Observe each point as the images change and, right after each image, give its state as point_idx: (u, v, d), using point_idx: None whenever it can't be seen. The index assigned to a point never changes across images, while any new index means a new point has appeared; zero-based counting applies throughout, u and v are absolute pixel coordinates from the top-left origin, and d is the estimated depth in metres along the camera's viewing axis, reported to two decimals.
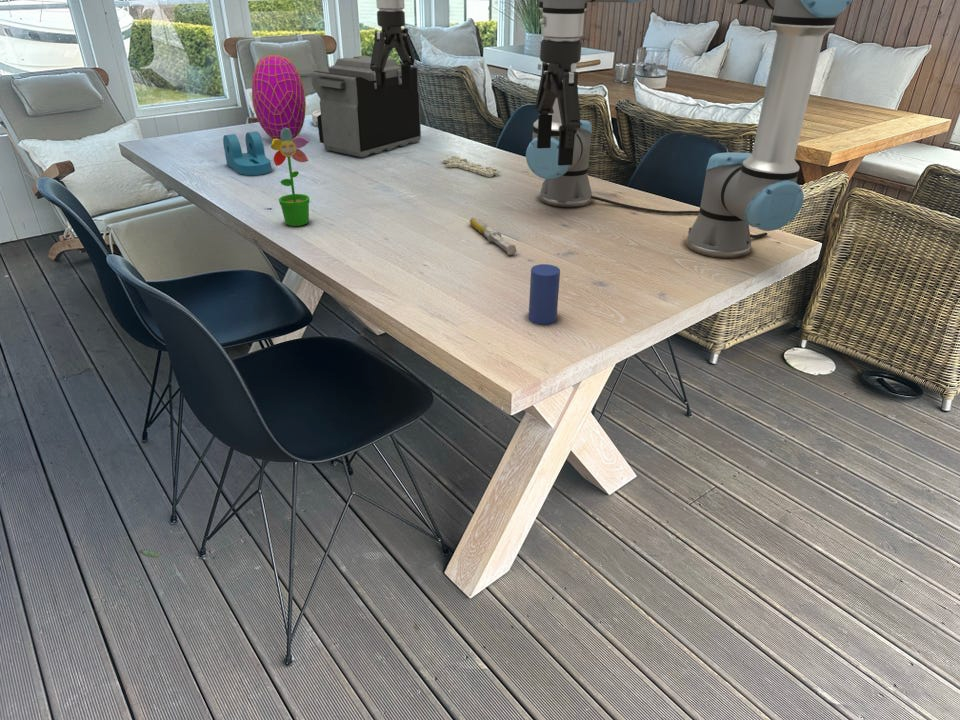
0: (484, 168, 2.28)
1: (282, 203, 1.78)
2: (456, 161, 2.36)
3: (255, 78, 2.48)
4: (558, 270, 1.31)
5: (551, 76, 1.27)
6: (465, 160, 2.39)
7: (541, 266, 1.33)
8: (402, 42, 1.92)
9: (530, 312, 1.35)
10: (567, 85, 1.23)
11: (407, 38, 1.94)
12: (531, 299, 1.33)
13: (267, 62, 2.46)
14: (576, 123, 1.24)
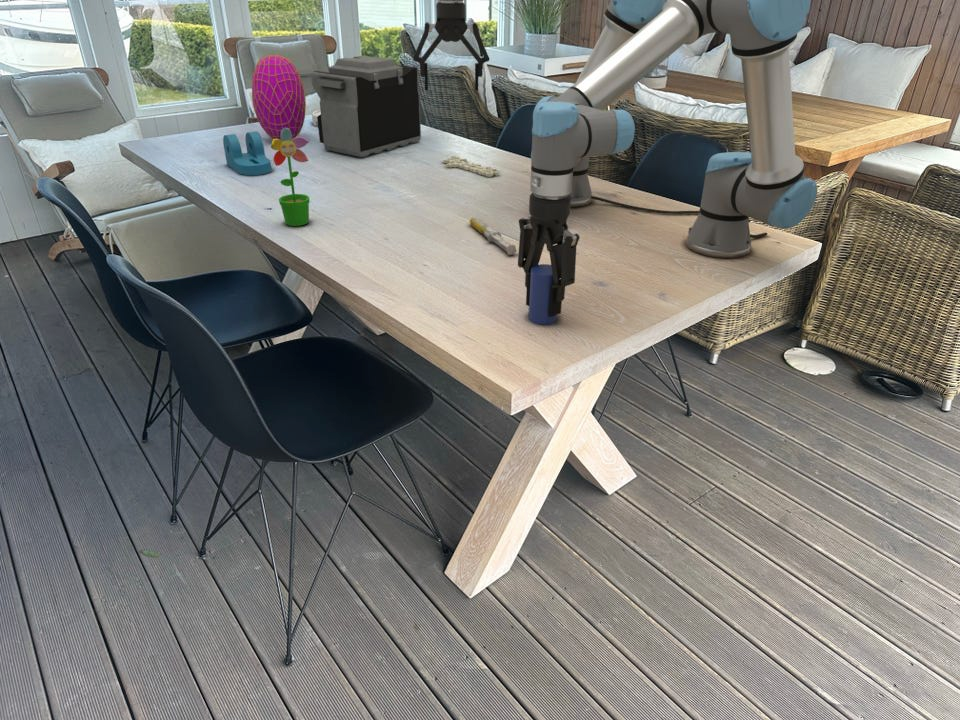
0: (484, 168, 2.28)
1: (282, 203, 1.78)
2: (456, 161, 2.36)
3: (255, 78, 2.48)
4: None
5: (546, 231, 1.25)
6: (465, 160, 2.39)
7: (541, 266, 1.33)
8: None
9: (530, 312, 1.35)
10: (569, 248, 1.24)
11: None
12: (531, 299, 1.33)
13: (267, 62, 2.46)
14: (571, 280, 1.28)
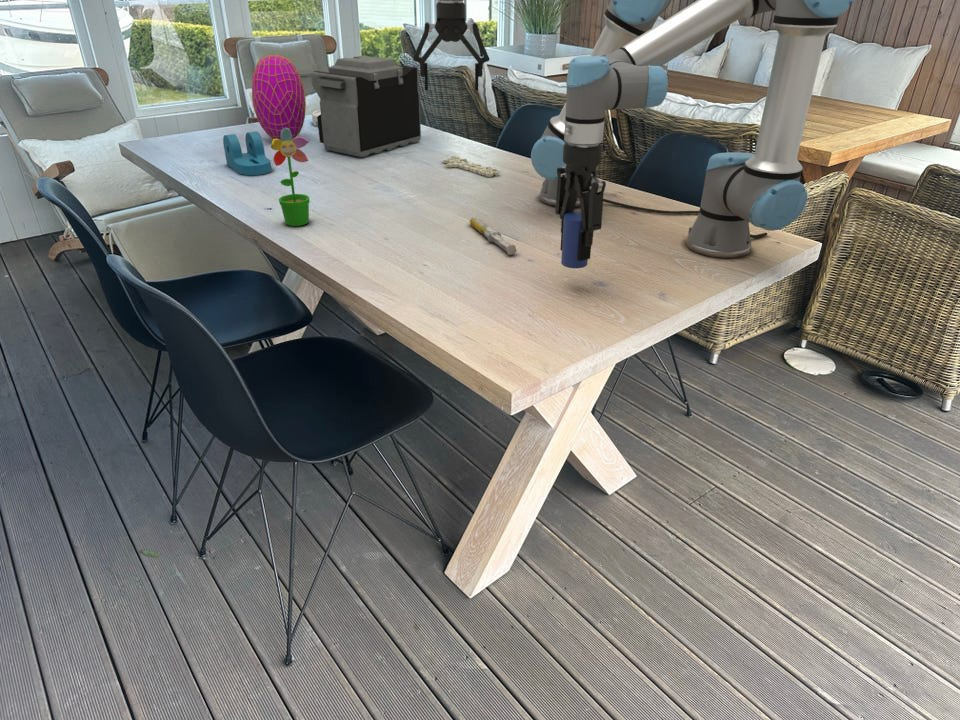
0: (484, 168, 2.28)
1: (282, 203, 1.78)
2: (456, 161, 2.36)
3: (255, 78, 2.48)
4: None
5: (576, 178, 1.35)
6: (465, 160, 2.39)
7: (575, 213, 1.43)
8: None
9: (562, 256, 1.46)
10: (595, 194, 1.33)
11: None
12: (563, 243, 1.44)
13: (267, 62, 2.46)
14: (598, 225, 1.37)
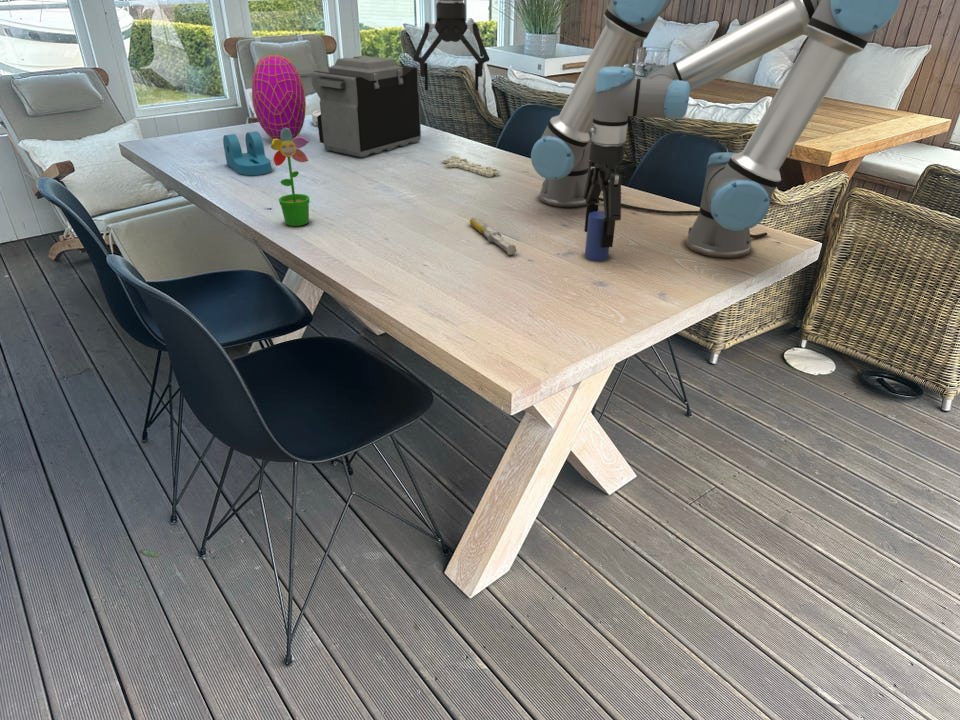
0: (484, 168, 2.28)
1: (282, 203, 1.78)
2: (456, 161, 2.36)
3: (255, 78, 2.48)
4: None
5: (599, 173, 1.53)
6: (465, 160, 2.39)
7: (600, 212, 1.61)
8: None
9: (585, 249, 1.64)
10: (612, 186, 1.50)
11: None
12: (586, 238, 1.63)
13: (267, 62, 2.46)
14: (617, 216, 1.52)
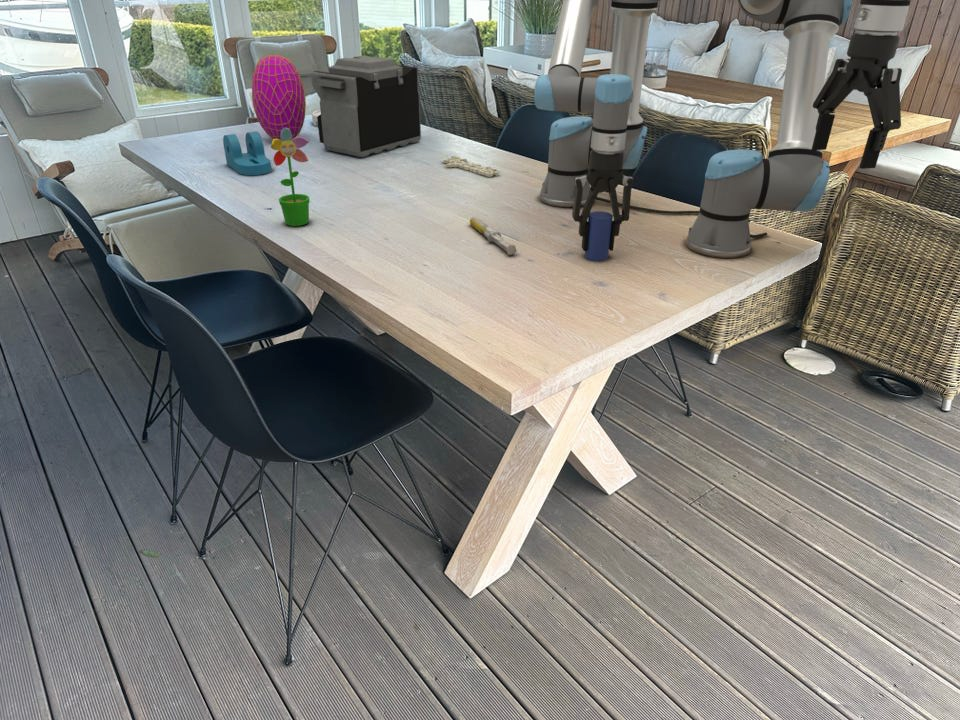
0: (484, 168, 2.28)
1: (282, 203, 1.78)
2: (456, 161, 2.36)
3: (255, 78, 2.48)
4: (610, 216, 1.59)
5: (861, 73, 1.19)
6: (465, 160, 2.39)
7: (600, 212, 1.61)
8: None
9: None
10: (889, 82, 1.15)
11: None
12: None
13: (267, 62, 2.46)
14: (897, 123, 1.16)
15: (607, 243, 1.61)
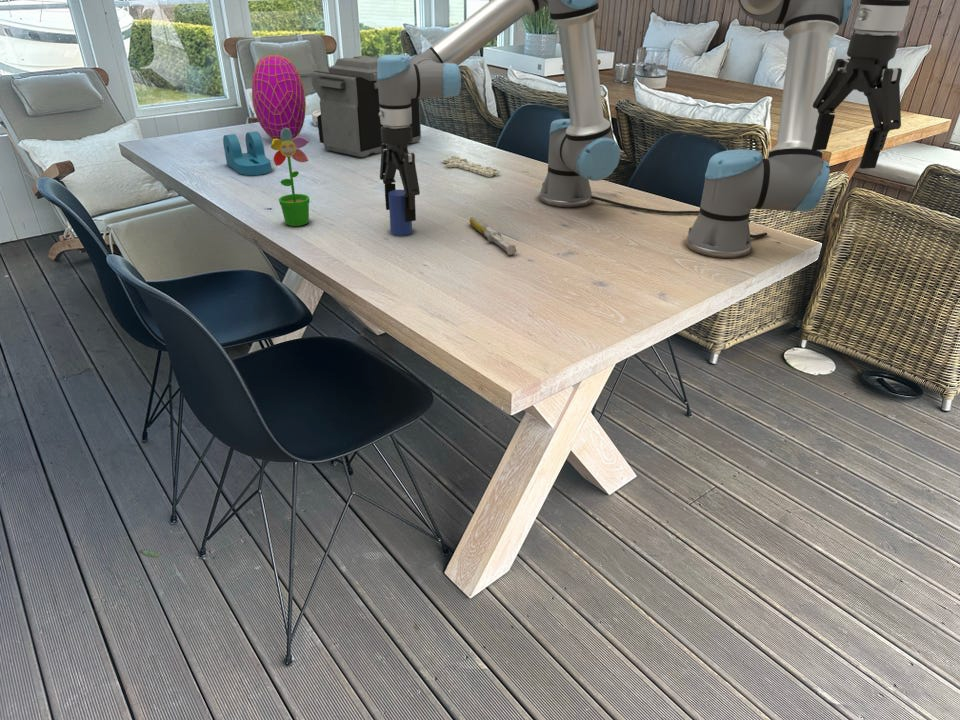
0: (484, 168, 2.28)
1: (282, 203, 1.78)
2: (456, 161, 2.36)
3: (255, 78, 2.48)
4: (397, 195, 1.71)
5: (861, 73, 1.19)
6: (465, 160, 2.39)
7: None
8: None
9: None
10: (889, 82, 1.15)
11: None
12: None
13: (267, 62, 2.46)
14: (897, 123, 1.16)
15: (396, 220, 1.74)
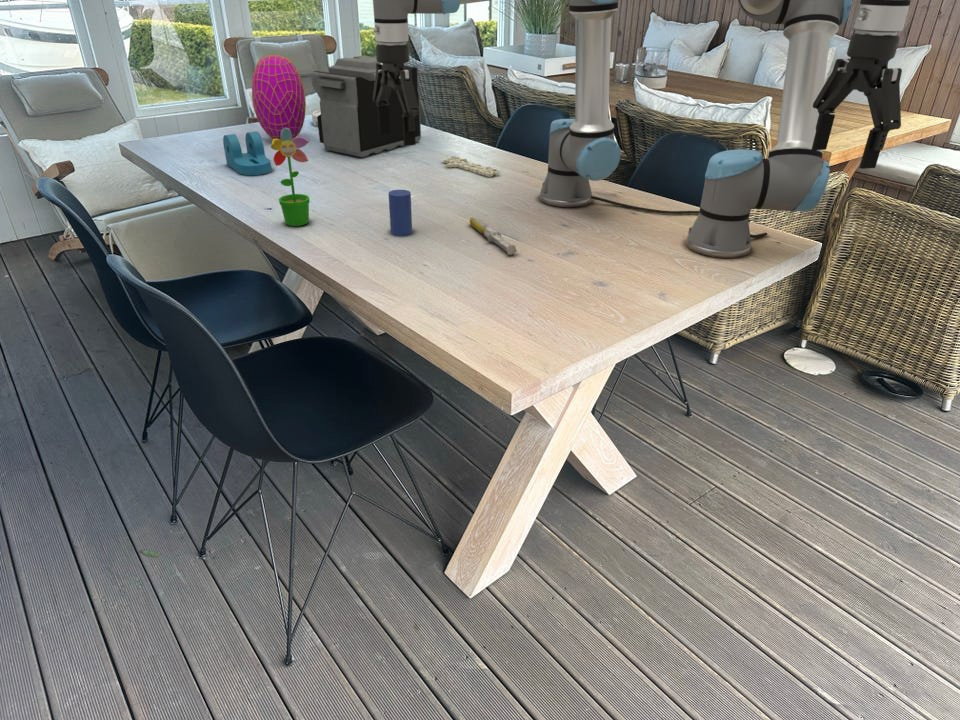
0: (484, 168, 2.28)
1: (282, 203, 1.78)
2: (456, 161, 2.36)
3: (255, 78, 2.48)
4: (397, 195, 1.71)
5: (861, 73, 1.19)
6: (465, 160, 2.39)
7: (406, 192, 1.74)
8: None
9: None
10: (889, 82, 1.15)
11: None
12: None
13: (267, 62, 2.46)
14: (897, 123, 1.16)
15: (396, 220, 1.74)
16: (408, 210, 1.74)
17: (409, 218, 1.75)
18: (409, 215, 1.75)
